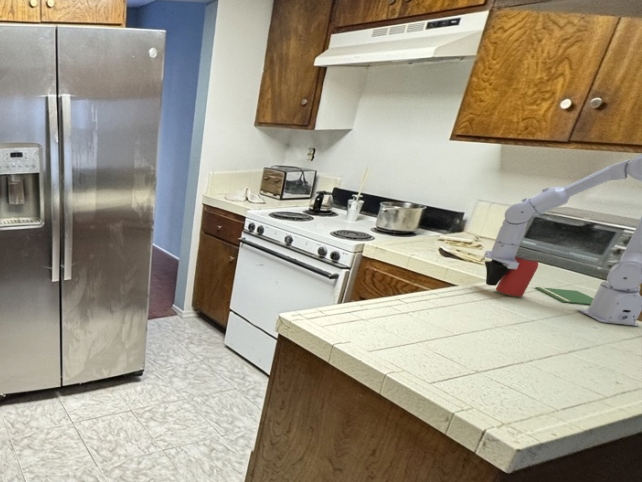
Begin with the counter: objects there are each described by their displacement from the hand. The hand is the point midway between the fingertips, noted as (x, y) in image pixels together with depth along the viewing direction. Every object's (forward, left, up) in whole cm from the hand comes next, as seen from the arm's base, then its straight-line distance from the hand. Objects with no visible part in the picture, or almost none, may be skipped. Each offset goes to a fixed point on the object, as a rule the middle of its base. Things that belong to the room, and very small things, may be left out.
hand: (490, 284), depth 149 cm
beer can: (0, -5, -3) cm, 6 cm away
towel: (+4, -23, -3) cm, 24 cm away
